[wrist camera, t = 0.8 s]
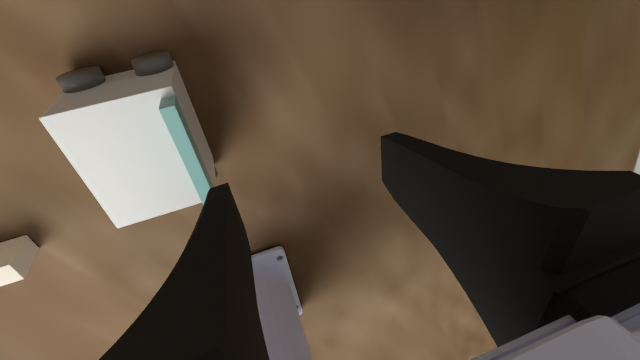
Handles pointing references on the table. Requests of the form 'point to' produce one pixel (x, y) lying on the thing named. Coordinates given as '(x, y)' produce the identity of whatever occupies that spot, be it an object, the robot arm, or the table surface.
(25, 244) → the bay
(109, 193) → the white box with knobs
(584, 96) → the table surface
